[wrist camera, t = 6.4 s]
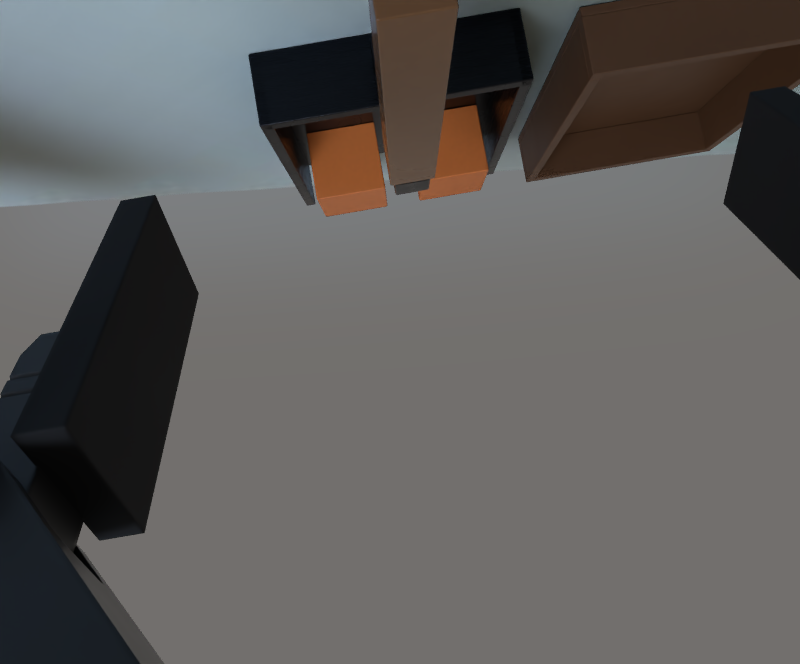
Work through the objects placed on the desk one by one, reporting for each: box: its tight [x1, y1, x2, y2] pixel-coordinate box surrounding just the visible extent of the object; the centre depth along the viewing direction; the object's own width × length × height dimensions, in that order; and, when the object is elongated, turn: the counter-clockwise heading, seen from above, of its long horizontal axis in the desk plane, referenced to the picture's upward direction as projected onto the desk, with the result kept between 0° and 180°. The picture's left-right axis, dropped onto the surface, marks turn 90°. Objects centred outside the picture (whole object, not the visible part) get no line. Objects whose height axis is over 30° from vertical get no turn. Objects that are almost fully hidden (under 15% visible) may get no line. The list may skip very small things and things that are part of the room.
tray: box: [518, 0, 800, 182], centre depth 39 cm, size 17×14×4 cm
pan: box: [249, 0, 533, 205], centre depth 29 cm, size 29×13×8 cm, turn 0°
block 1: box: [306, 122, 387, 216], centre depth 40 cm, size 4×4×4 cm
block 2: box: [418, 105, 489, 200], centre depth 40 cm, size 4×4×4 cm
